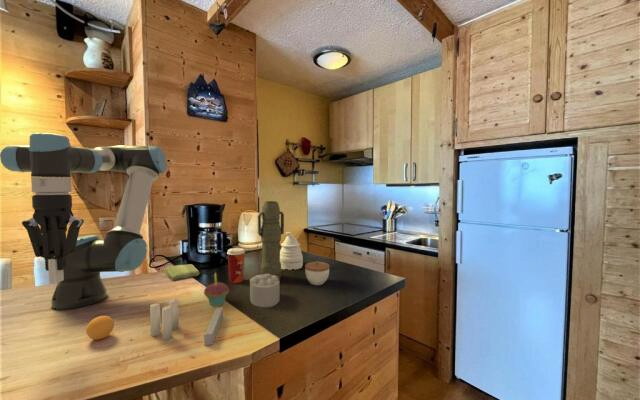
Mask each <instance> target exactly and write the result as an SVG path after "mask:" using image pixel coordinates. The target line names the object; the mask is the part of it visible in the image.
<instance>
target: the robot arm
mask: <svg viewBox="0 0 640 400" xmlns="http://www.w3.org/2000/svg"><path fill="white" fill-rule="evenodd" d="M0 163H1V164H2V166H3V167H4V168H5V169H7V170H9V171H12V172H18V173H20V172H21V173H30V176H31V177H30V181H31V192H32V193H34V194H33V196H31V203H32V209H33V210H34V212H33V214H32V217H31V218H29V219H28V220H23V221H22V222H21V225H22V226H23V227H24V228H25V230H26V232H27V234H28V238H29V240H30V244H31V246H32V250H33V253H34V255H35V257H37V258H43V259H44V263H45V264H44V268H45V271H48V284H49V285H56V286H55V290H54V292H53V294H52V297H51V300H50V301H51V308H52V307H53V309H54V308H56V309H55V310H73V309H78V308H84V307H86V306H90V305H93V304H96V303H99V302H100V301H103V300H104V299H105V298H107V296H108V295H107V294H108V293H107V287H106V286H105V283H104V281H103V280H102V278H101V273H112V272H115V273H116V272H118V273H123V272H132V271H135V270H137V269H138V268H139V267H141V265H142V264H143V263H144V261H145V259H146V256H147V251H148V249H147V247H148V245H147V241H146V240H144V236H143V234H142V233H141V229H142V227H143V222H144V217H145V214H146V209H147V206H148V203H149V198H150V196H151V195H150V194H151V190H152V187H153V183H154V182H155V181H157V180H158V179H159V176H160V174H164V173H165V172H167V166H168V164H167V163H168V162H167V158H166V153H165V152H164V150H163V149H162V147H159V146H155V145H154V146H152V145H127V144H126V145H124V144H123V145H122V144H121V145H113V146H112V145H111V146H97V147H94V148H89V147H82V146H76V145H71V143H70V138H69V137H68V136H66V135H63V134H58V133H50V132H34V133H31V134H30V135H29V145H21V144H17V145H8V146H6V147H4V148H2V150H1V152H0ZM98 171H102V172H103V171H104V172H105V171H107V172H108V171H109V172H116V173H117V172H119V173H126V174H127V175H128V179H127V182H126V186H125V189H124V191H123V196H122V199H121V202H120V205H119V208H118V212H117V214H116V219H115V221H114V225H113V228H112V229H110V230H108V231H107V232H105V237H104V238H103V239H100V237H99V235H98V234H89V235H82V236H79V233H80V230H81V227H82V225H83V224H84V222H85V220H84V219H83V218H82V219H81V218H77V217H75V215H74V213H73V211H72V208H73V195H72V194H70V193H72V173H81V174H93V173H95V172H98ZM68 225H69V227H68Z"/></svg>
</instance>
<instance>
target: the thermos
mask: <svg viewBox="0 0 640 400" xmlns="http://www.w3.org/2000/svg"><path fill="white" fill-rule="evenodd" d="M261 210H262V211H261V212H259V213H258V215H257V234H258V235H259V237H260V241H261V264H260V275H261V274H270V275H275V276H277V277H278V279H279V281H280V280H281V278H282V276H281V274H282V269H281V262H280V250H281V240H282V235H284V234H285V233H284V232H285V213H284V212H283V211H281V209H280V205H279V202H278V201H275V200H273V201H271V200H270V201H267V200H266V201H265V202H263V205H262V209H261Z"/></svg>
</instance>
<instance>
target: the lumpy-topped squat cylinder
mask: <svg viewBox="0 0 640 400" xmlns="http://www.w3.org/2000/svg"><path fill="white" fill-rule="evenodd" d="M280 289H281V288H280V280H279V279H278V277H277V276H275V275H270V274H261V273H260V274H257V275H255V276H253V277H251V278H250V279H249V299H250V303H251V304H252V305H253V306H256V307H259V308H271V307H274V306H276V305H278V303H279V302H280V300H281V299H280V297H281V295H280Z"/></svg>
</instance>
